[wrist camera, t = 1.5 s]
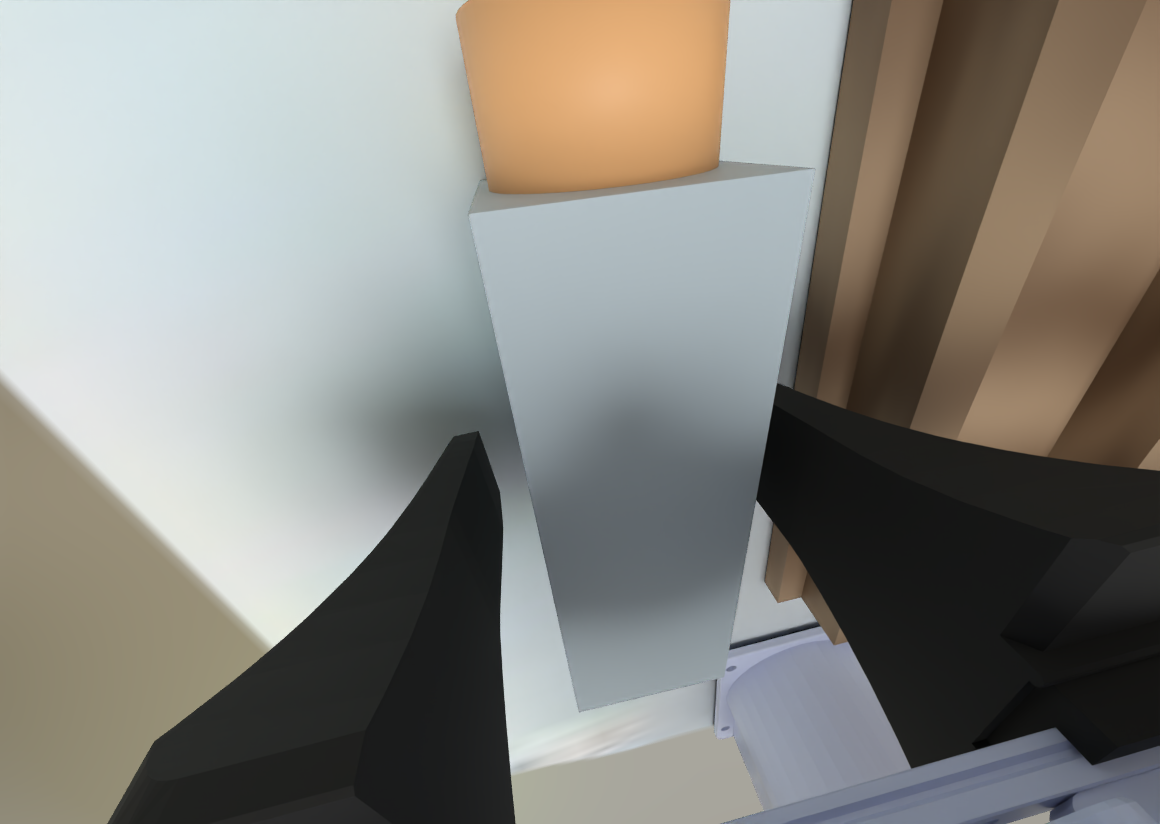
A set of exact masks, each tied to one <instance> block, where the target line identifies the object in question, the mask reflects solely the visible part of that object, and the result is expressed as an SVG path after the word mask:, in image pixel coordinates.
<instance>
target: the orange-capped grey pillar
mask: <svg viewBox="0 0 1160 824" xmlns="http://www.w3.org/2000/svg"><path fill="white" fill-rule="evenodd" d="M729 11H730V0H469V1H467V2H466V3H465V4H463V5H462V6H461V7H460V8H459V10H458V11H457V14H456V22H457V27H458V32H459V38H460V43H461V48H462V53H463V58H464V64H465V69H466V74H467V79H468V84H469V90H470V95H471V100H472V105H473V110H474V116H475V121H476V126H477V131H478V136H479V142H480V147H481V152H482V157H483V162H484V168H485V173H486V178H487V180H482V181H480V182H479V185H478V188H477V191H476V193H475V196H474V199H473V202H472V205H471V207H470V210H469V213H468V216H469V221H470V225H471V230H472V234H473V239H474V243H475V248H476V252H477V257H478V261H479V266H480V270H481V275H482V279H483V284H484V288H485V293H486V297H487V302H488V306H489V311H490V315H491V320H492V324H493V329H494V333H495V338H496V342H497V347H498V351H499V356H500V360H501V365H502V369H503V373H504V378H505V382H506V387H507V391H508V396H509V400H510V405H511V409H512V414H513V418H514V423H515V427H516V432H517V436H518V441H519V445H520V450H521V454H522V459H523V463H524V468H525V472H526V477H527V481H528V486H529V490H530V495H531V499H532V504H533V508H534V513H535V517H536V522H537V526H538V531H539V535H540V540H541V544H542V549H543V553H544V558H545V562H546V567H547V571H548V576H549V580H550V585H551V589H552V594H553V598H554V603H555V607H556V612H557V616H558V621H559V625H560V630H561V634H562V639H563V643H564V648H565V652H566V657H567V661H568V666H569V670H570V675H571V679H572V684H573V688H574V693H575V697H576V702H577V706H578V711H579V712H582V711H586V710H590V709H595V708H599V707H603V706H607V705H611V704H615V703H619V702H624V701H628V700H632V699H636V698H640V697H644V696H648V695H653V694H657V693H661V692H665V691H669V690H673V689H677V688H681V687H686V686H690V685H694V684H698V683H702V682H706V681H710V680H715V679H719V678H723V677H724V675H725V669H726V664H727V658H728V653H729V647H730V642H731V636H732V630H733V625H734V619H735V614H736V608H737V603H738V597H739V592H740V586H741V580H742V575H743V569H744V564H745V558H746V553H747V547H748V541H749V536H750V530H751V525H752V519H753V514H754V508H755V502H756V497H757V491H758V486H759V480H760V475H761V469H762V463H763V458H764V452H765V447H766V441H767V436H768V430H769V424H770V419H771V413H772V408H773V402H774V397H775V391H776V386H777V380H778V374H779V369H780V363H781V358H782V352H783V347H784V341H785V335H786V330H787V324H788V319H789V313H790V308H791V302H792V296H793V291H794V285H795V280H796V274H797V269H798V263H799V257H800V252H801V246H802V241H803V235H804V230H805V224H806V219H807V213H808V207H809V202H810V196H811V191H812V185H813V180H814V174H815V168H803V167H790V166H778V165H765V164H753V163H740V162H728V161H719V153H720V139H721V125H722V110H723V96H724V82H725V68H726V54H727V39H728V25H729Z"/></svg>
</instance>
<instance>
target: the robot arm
mask: <svg viewBox="0 0 1160 824" xmlns="http://www.w3.org/2000/svg"><path fill="white" fill-rule="evenodd" d="M756 500H757V501H758V503H759V504H760V505H761V507H762V508H763V509H764V511H765V512H766V513H767V515H768V516H769V517H770V519H771V520H772V521H773V523H774V524H775V525H776V527H777V528H778V529H779V531H780V532H781V533H782V535H783V536H784V537H785V538H786V540H787V541H788V542H789V544H790V545H791V547H792V548H793V550H794V551H795V553H796V554H797V556H798V557H799V559H800V560H801V562H802V563H803V565H804V567H805V568H806V570H807V572H808V573H809V575H810V577H811V578H812V580H813V582H814V583H815V585H816V587H817V588H818V590H819V592H820V593H821V595H822V597H823V599H824V600H825V602H826V604H827V606H828V607H829V609H830V611H831V613H832V614H833V616H834V618H835V620H836V621H837V623H838V625H839V627H840V629H841V630H842V632H843V634H844V636H845V637H846V639H847V641H848V642H846V643H842V644H838V645H833V644H832V642H831V641H830V639H829V638H828V636H827V635H826V633H825V632H824V630H823V629H822V627H821V626H820V627H816V628H812V629H808V630H804V631H801V632H797V633H793V634H789V635H785V636H781V637H778V638H774V639H770V640H766V641H762V642H759V643H755V644H751V645H747V646H743V647H739V648H736V649H732V650H729V653H728V658H727V664H726V669H725V675H724V677H723V678H719V679H717V692H716V708H715V723H714V732H715V735H716V737H717V738H718V739H725V738H729V737H732V736H734V738H735V741H736V743H737V746H738V748H739V751H740V753H741V756H742V758H743V760H744V763H745V766H746V768H747V770H748V773H749V775H750V778H751V780H752V783H753V785H754V788H755V790H756V793H757V795H758V798H759V800H760V803H761V805H762V807H763V810H764V811H763V812H759V813H756V814H752V815H749V816H746V817H742V818H738V819H735V820H731V821H728V822H724V823H721V824H1007V823H1010V822H1014V821H1017V820H1020V819H1023V818H1027V817H1030V816H1034V815H1037V814H1040V813H1043V812H1047V811H1050V810H1052V811H1050V822H1049V823H1046V824H1160V471H1158V470H1148V469H1139V468H1129V467H1119V466H1110V465H1100V464H1093V463H1085V462H1078V461H1071V460H1064V459H1057V458H1051V457H1044V456H1037V455H1031V454H1025V453H1019V452H1013V451H1007V450H1002V449H997V448H992V447H987V446H982V445H977V444H972V443H967V442H962V441H957V440H953V439H948V438H944V437H940V436H936V435H932V434H928V433H924V432H920V431H916V430H913V429H909V428H905V427H901V426H897V425H894V424H891V423H887V422H884V421H880V420H877V419H874V418H871V417H868V416H865V415H862V414H859V413H856V412H853V411H850V410H847V409H844V408H841V407H838V406H836V405H833V404H830V403H827V402H825V401H822V400H819V399H817V398H814V397H812V396H809V395H806V394H804V393H801V392H799V391H796V390H793V389H791V388H788V387H786V386H783V385H781V384H778V383H777V386H776V391H775V397H774V402H773V408H772V413H771V419H770V424H769V430H768V436H767V441H766V447H765V452H764V458H763V463H762V469H761V475H760V480H759V486H758V491H757V497H756ZM502 551H503V520H502V508H501V498H500V491H499V488H498V485H497V483H496V480H495V477H494V474H493V471H492V468H491V465H490V463H489V460H488V457H487V454H486V451H485V448H484V445H483V442H482V440H481V437H480V434H479V431H477V432H473V433H468V434H464V435H459V436H455V437H453V438H452V440H451V441H450V443H449V444H448V446H447V447H446V449H445V451H444V452H443V454H442V455H441V457H440V459H439V460H438V462H437V463H436V465H435V466H434V468H433V470H432V471H431V473H430V474H429V476H428V477H427V479H426V480H425V482H424V483H423V485H422V486H421V488H420V489H419V491H418V492H417V494H416V495H415V497H414V498H413V500H412V501H411V502H410V504H409V505H408V506H407V508H406V509H405V510H404V512H403V513H402V514H401V516H400V517H399V519H398V520H397V521H396V523H395V524H394V525H393V527H392V528H391V529H390V530H389V532H388V533H387V534H386V535H385V537H384V538H383V539H382V540H381V541H380V542H379V544H378V545H377V546H376V547H375V548H374V549H373V551H372V552H371V553H370V554H369V555H368V556H367V557H366V558H365V560H364V561H363V562H362V563H361V564H360V565H359V566H358V567H357V568H356V569H355V571H354V572H353V573H352V574H351V575H350V576H349V577H348V578H347V579H346V580H345V581H344V582H343V583H342V584H341V585H340V586H339V587H338V588H337V589H336V590H335V591H334V592H333V593H332V594H331V595H330V596H329V597H328V598H327V599H326V600H324V601H323V602H322V603H321V604H320V605H319V606H318V607H317V608H316V609H315V610H314V611H313V612H312V613H311V614H310V615H309V616H308V617H307V618H306V619H305V620H304V621H303V622H302V623H300V624H299V625H298V626H297V627H296V628H295V629H294V630H293V631H291V632H290V633H289V634H288V635H287V636H286V637H285V638H284V639H283V640H281V641H280V642H279V643H278V644H277V645H276V646H274V647H273V648H272V649H271V650H270V651H269V652H267V653H266V654H265V655H264V656H263V657H262V658H260V659H259V660H258V661H257V662H256V663H254V664H253V665H252V666H251V667H250V668H248V669H247V670H246V671H245V672H244V673H242V674H241V675H240V676H239V677H237V678H236V679H235V680H234V681H233V682H231V683H230V684H229V685H228V686H226V687H225V688H224V689H222V690H221V691H220V692H218V693H217V694H216V695H214V696H213V697H212V698H211V699H209V700H208V701H207V702H206V703H204V704H203V705H202V706H200V707H199V708H198V709H196V710H195V711H194V712H193V713H191V714H190V715H189V716H187V717H186V718H185V719H183V720H182V721H181V722H180V723H178V724H177V725H176V726H175V727H173V728H172V729H170V730H169V731H168V732H167V733H165V734H164V735H162V736H161V737H160V738H159V739H157V740H156V741H155V742H154V743H153V745H152V746H151V748H150V750H149V752H148V754H147V755H146V757H145V758H144V760H143V762H142V764H141V766H140V767H139V769H138V771H137V773H136V774H135V776H134V778H133V780H132V781H131V783H130V785H129V787H128V788H127V790H126V792H125V794H124V795H123V797H122V799H121V801H120V802H119V804H118V806H117V808H116V809H115V811H114V813H113V815H112V817H111V818H110V820H109V822H108V824H515V815H514V804H513V795H512V785H511V773H510V762H509V750H508V739H507V728H506V714H505V701H504V687H503V673H502V656H501V640H500V603H501V577H502Z"/></svg>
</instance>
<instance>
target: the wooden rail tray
mask: <svg viewBox="0 0 1160 824" xmlns="http://www.w3.org/2000/svg"><path fill="white" fill-rule="evenodd" d="M794 390H796V391H799V392H801V393H804V394H806V395H809V396H812V397H814V398H817V399H819V400H822V401H825V402H827V403H830V404H833V405H836V406H838V407H841V408H844V409H847V410H850V411H853V412H856V413H859V414H862V415H865V416H868V417H871V418H874V419H877V420H880V421H884V422H887V423H891V424H894V425H897V426H901V427H905V428H909V429H913V430H916V431H920V432H924V433H928V434H932V435H936V436H940V437H944V438H948V439H953V440H957V441H962V442H967V443H972V444H977V445H982V446H987V447H992V448H997V449H1002V450H1007V451H1013V452H1019V453H1025V454H1031V455H1037V456H1044V457H1051V458H1057V459H1064V460H1071V461H1078V462H1085V463H1093V464H1100V465H1110V466H1119V467H1129V468H1139V469H1148V470H1158V471H1160V0H853V6H852V12H851V19H850V26H849V32H848V39H847V45H846V52H845V58H844V65H843V72H842V78H841V85H840V91H839V98H838V104H837V111H836V117H835V124H834V131H833V137H832V144H831V150H830V157H829V163H828V170H827V177H826V183H825V190H824V196H823V203H822V209H821V216H820V222H819V229H818V236H817V242H816V249H815V255H814V262H813V268H812V275H811V282H810V288H809V295H808V301H807V308H806V314H805V321H804V327H803V334H802V341H801V347H800V354H799V360H798V367H797V373H796V380H795V387H794ZM765 583H766V585H767V586H768V588H769V590H770V591H771V593H772V594H773V596H774V598H775V599H776V601H777V603H780V602H784V601H788V600H792V599H796V598H800V597H801V598H802V599H803V601H804V602H805V604H806V605H807V607H808V608H809V610H810V611H811V612H812V614H813V615H814V617H815V618H816V620H817V621H818V623H819V624H820V626H821V627H822V629H823V630H824V632H825V633H826V635H827V636H828V638H829V639H830V641H831V642H832V644H833V645H838V644H842V643H846V642H848V641H847V639H846V637H845V636H844V634H843V632H842V630H841V629H840V627H839V625H838V623H837V621H836V620H835V618H834V616H833V614H832V613H831V611H830V609H829V607H828V606H827V604H826V602H825V600H824V599H823V597H822V595H821V593H820V592H819V590H818V588H817V587H816V585H815V583H814V582H813V580H812V578H811V577H810V575H809V573H808V572H807V570H806V568H805V567H804V565H803V563H802V562H801V560H800V559H799V557H798V556H797V554H796V553H795V551H794V550H793V548H792V547H791V545H790V544H789V542H788V541H787V540H786V538H785V537H784V536H783V535H782V533H781V532H780V531H779V529H778V528H777V527H776V525H775V524H773V531H772V538H771V544H770V551H769V557H768V564H767V570H766V577H765Z"/></svg>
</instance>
